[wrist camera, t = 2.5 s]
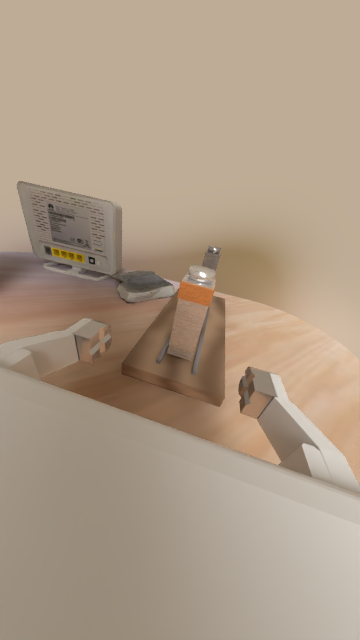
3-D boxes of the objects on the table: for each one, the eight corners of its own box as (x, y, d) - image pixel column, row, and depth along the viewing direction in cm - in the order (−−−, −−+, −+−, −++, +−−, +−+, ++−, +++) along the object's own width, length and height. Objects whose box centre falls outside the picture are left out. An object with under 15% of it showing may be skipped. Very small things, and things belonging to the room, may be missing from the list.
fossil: (151, 279, 59) (152, 269, 57) (177, 299, 49) (179, 287, 47) (105, 282, 50) (105, 269, 48) (126, 306, 40) (126, 292, 38)
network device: (124, 276, 55) (125, 204, 45) (111, 284, 48) (109, 200, 38) (51, 259, 56) (36, 184, 46) (27, 264, 49) (3, 177, 38)
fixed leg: (194, 296, 47) (207, 246, 40) (196, 292, 50) (208, 244, 43) (206, 300, 46) (221, 249, 39) (207, 295, 49) (222, 248, 43)
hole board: (121, 373, 23) (122, 360, 22) (179, 292, 52) (180, 285, 51) (219, 406, 22) (226, 394, 21) (222, 304, 51) (225, 297, 50)
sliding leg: (165, 357, 24) (183, 268, 18) (172, 342, 28) (189, 262, 21) (190, 365, 24) (218, 277, 17) (194, 349, 27) (219, 269, 20)
